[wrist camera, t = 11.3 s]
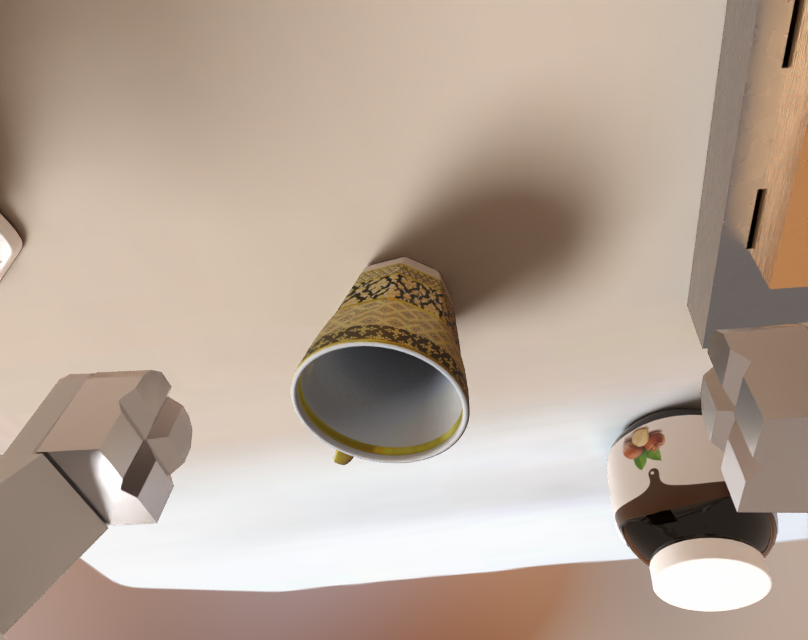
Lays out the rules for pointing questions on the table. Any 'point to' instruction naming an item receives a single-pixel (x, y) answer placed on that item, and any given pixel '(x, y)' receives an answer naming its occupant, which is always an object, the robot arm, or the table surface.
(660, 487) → the spread jar
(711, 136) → the rail
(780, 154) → the wooden arch block
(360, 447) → the ceramic cup
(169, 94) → the table surface
